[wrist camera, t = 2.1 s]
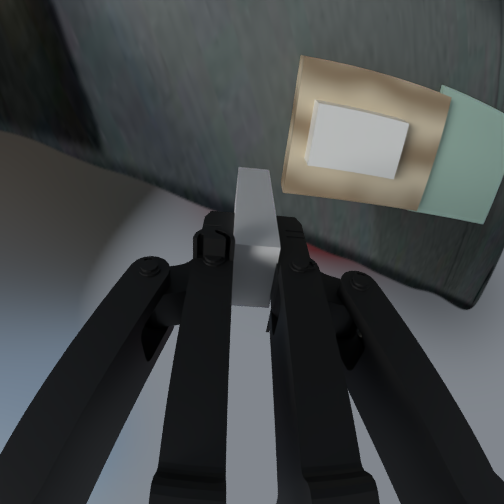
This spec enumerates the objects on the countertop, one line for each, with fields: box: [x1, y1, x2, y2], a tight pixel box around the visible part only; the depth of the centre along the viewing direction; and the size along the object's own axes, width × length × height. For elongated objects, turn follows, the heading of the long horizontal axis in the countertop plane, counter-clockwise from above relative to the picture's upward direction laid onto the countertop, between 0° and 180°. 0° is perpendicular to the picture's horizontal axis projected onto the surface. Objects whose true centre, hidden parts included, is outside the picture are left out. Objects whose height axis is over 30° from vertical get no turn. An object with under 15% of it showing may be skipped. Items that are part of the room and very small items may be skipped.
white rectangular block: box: [304, 100, 409, 180], centre depth 28 cm, size 9×6×2 cm, turn 84°
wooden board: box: [281, 55, 452, 211], centre depth 30 cm, size 14×16×2 cm
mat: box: [409, 85, 504, 224], centre depth 32 cm, size 16×14×1 cm
